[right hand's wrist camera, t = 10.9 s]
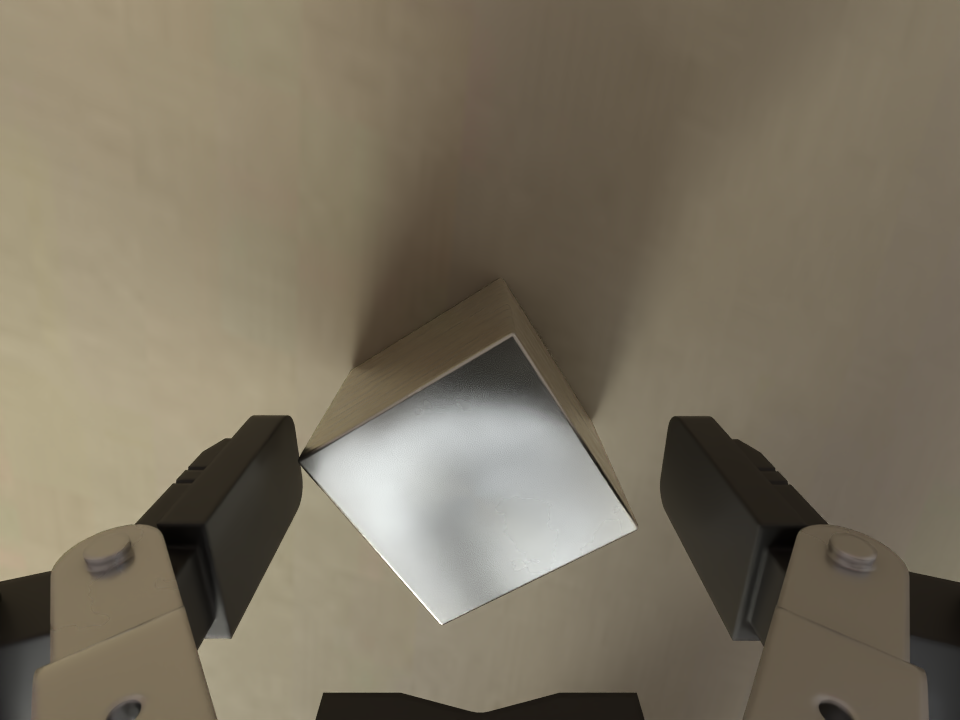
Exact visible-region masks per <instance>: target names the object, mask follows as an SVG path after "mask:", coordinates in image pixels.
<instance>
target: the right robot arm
mask: <svg viewBox="0 0 960 720" xmlns="http://www.w3.org/2000/svg"><path fill="white" fill-rule="evenodd" d="M298 459H299V452H298V445H297V439H296V432H295V426H294V422H293V419H292V418H291V417H290V416H288V415H254V416H251V417H250V418H249V419H248V420H247V421H246V422H245V424H244V425H243V426H242V427H241V428H240V429H239V430H238V432H237V433H236V434H235V435H234V436H233V437H232V438H225V439H224V440H222V441H220V442H218V443H217V444H215V445H213V446H212V447H210V448H208V449H207V450H205V451H203V452H202V453H201V454H200V455H199V456H198V457H197V459H196V460H195V461H194V462H193V463H192V464H191V465H190V466H189V467H188V468H189V469H188V470H185V471H184V472H183V473H182V475H181V476H180V477H179V478H178V479H177V480H176V483H173V484H172V485H171V486H170V487H169V488H168V489H167V491H166V492H165V493H164V494H163V495H162V496H161V497H160V498H159V499H158V500H157V501H156V502H155V503H154V504H153V505H152V507H151V508H150V509H149V510H148V511H147V512H146V513H145V514H144V515H143V516H142V517H141V518H140V519H139V520H138V521H137V523H136V524H135V525H125V526H120V527H116V528H112V529H109V530H106V531H103V532H100V533H98V534H95V535H93V536H91V537H89V538H87V539H85V540H83V541H81V542H80V543H78V544H77V545H75V546H74V547H72V548H71V549H70V550H68V551H67V552H66V553H65V554H64V555H63V556H62V557H61V558H60V559H59V560H58V561H57V562H56V564H55V565H54V567H53V569H52V571H49V572H44V573H39V574H34V575H30V576H25V577H20V578H15V579H11V580H6V581H1V582H0V720H217V717H216V713H215V710H214V707H213V703H212V700H211V696H210V693H209V689H208V686H207V683H206V679H205V676H204V672H203V669H202V665H201V662H200V659H199V655H198V652H197V650H198V648H199V647H200V645H201V643H202V641H203V640H204V639H231V638H232V636H233V634H234V632H235V630H236V628H237V626H238V624H239V623H240V621H241V619H242V617H243V615H244V613H245V611H246V609H247V607H248V605H249V603H250V601H251V599H252V597H253V595H254V593H255V591H256V590H257V588H258V586H259V584H260V582H261V580H262V578H263V576H264V574H265V572H266V570H267V568H268V566H269V564H270V562H271V560H272V559H273V557H274V555H275V553H276V551H277V549H278V547H279V545H280V543H281V541H282V539H283V537H284V535H285V533H286V531H287V529H288V527H289V526H290V524H291V522H292V520H293V518H294V516H295V514H296V512H297V510H298V508H299V505H300V502H301V497H302V488H303V482H302V473H301V466H300V464H299V463H298ZM660 493H661V499H662V504H663V507H664V509H665V511H666V513H667V515H668V517H669V519H670V521H671V523H672V525H673V527H674V529H675V531H676V533H677V534H678V536H679V538H680V540H681V542H682V544H683V546H684V548H685V550H686V552H687V554H688V556H689V557H690V559H691V561H692V563H693V565H694V567H695V569H696V571H697V573H698V575H699V577H700V579H701V580H702V582H703V584H704V586H705V588H706V590H707V592H708V594H709V596H710V598H711V600H712V602H713V603H714V605H715V607H716V609H717V611H718V613H719V615H720V617H721V619H722V621H723V623H724V625H725V626H726V628H727V630H728V632H729V634H730V636H731V638H732V640H733V641H761V643H762V644H763V646H764V648H763V652H762V655H761V659H760V662H759V665H758V669H757V672H756V676H755V679H754V683H753V686H752V689H751V693H750V696H749V700H748V703H747V707H746V710H745V713H744V717H743V720H960V582H955V581H950V580H946V579H941V578H936V577H931V576H927V575H922V574H917V573H912V572H909V571H908V569H907V567H906V565H905V564H904V562H903V561H902V560H901V559H900V558H899V557H898V556H897V555H896V554H895V553H894V552H893V551H892V550H890V549H889V548H888V547H886V546H885V545H883V544H882V543H880V542H879V541H877V540H875V539H873V538H871V537H869V536H867V535H865V534H862V533H860V532H857V531H854V530H851V529H848V528H844V527H840V526H835V525H828V523H827V522H826V521H825V520H824V519H823V518H822V517H821V516H820V515H819V514H818V513H817V512H816V511H815V510H814V509H813V508H812V507H811V505H810V504H809V503H808V502H807V501H806V500H805V499H804V498H803V497H802V496H801V495H800V494H799V493H798V492H797V491H796V490H795V489H794V488H793V486H792V485H788V481H787V480H786V479H785V478H784V477H783V476H782V475H781V474H780V473H779V472H778V471H775V467H774V466H773V465H772V464H771V463H770V462H769V461H768V460H767V459H766V458H765V457H764V456H763V455H762V454H761V453H760V452H759V451H757V450H755V449H753V448H752V447H750V446H748V445H747V444H745V443H743V442H742V441H740V440H738V439H731V438H730V437H729V435H728V434H727V433H726V432H725V431H724V430H723V429H722V428H721V426H720V425H719V424H718V423H717V422H716V421H715V420H714V419H713V418H712V417H710V416H674V417H672V419H671V420H670V422H669V426H668V431H667V438H666V445H665V452H664V458H663V465H662V472H661V479H660ZM316 720H644V716H643V713H642V710H641V706H640V703H639V699H638V696H637V693H557V694H553V695H549V696H546V697H542V698H538V699H534V700H531V701H527V702H523V703H519V704H516V705H512V706H508V707H504V708H501V709H497V710H493V711H489V712H484V713H476V712H471V711H467V710H463V709H459V708H456V707H452V706H448V705H444V704H441V703H437V702H433V701H429V700H426V699H422V698H418V697H414V696H411V695H407V694H403V693H323V696H322V699H321V703H320V706H319V710H318V713H317V716H316Z"/></svg>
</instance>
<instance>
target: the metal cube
mask: <svg viewBox="0 0 960 720" xmlns="http://www.w3.org/2000/svg"><path fill="white" fill-rule="evenodd" d="M298 463H299V464H300V465H301V466H302V468H303V469H304V470H305V471H306V472H307V473H308V474H309V476H310V477H311V478H312V479H313V480H314V481H315V482H316V484H317V485H318V486H319V487H320V488H321V489H322V490H323V492H324V493H325V494H326V495H327V496H328V497H329V498H330V500H331V501H332V502H333V503H334V504H335V505H336V506H337V507H338V509H339V510H340V511H341V512H342V513H343V514H344V515H345V517H346V518H347V519H348V520H349V521H350V522H351V523H352V525H353V526H354V527H355V528H356V529H357V530H358V531H359V533H360V534H361V535H362V536H363V537H364V538H365V539H366V541H367V542H368V543H369V544H370V545H371V546H372V547H373V549H374V550H375V551H376V552H377V553H378V554H379V555H380V557H381V558H382V559H383V560H384V561H385V562H386V563H387V565H388V566H389V567H390V568H391V569H392V570H393V571H394V572H395V574H396V575H397V576H398V577H399V578H400V579H401V580H402V582H403V583H404V584H405V585H406V586H407V587H408V588H409V590H410V591H411V592H412V593H413V594H414V595H415V596H416V598H417V599H418V600H419V601H420V602H421V603H422V604H423V606H424V607H425V608H426V609H427V610H428V611H429V612H430V614H431V615H432V616H433V617H434V618H435V619H436V620H437V622H438V623H439V624H441V625H444V624H446V623H448V622H450V621H452V620H454V619H456V618H458V617H460V616H462V615H464V614H466V613H468V612H470V611H472V610H475V609H477V608H479V607H481V606H483V605H485V604H487V603H489V602H491V601H493V600H495V599H497V598H499V597H501V596H503V595H505V594H507V593H509V592H511V591H513V590H516V589H518V588H520V587H522V586H524V585H526V584H528V583H530V582H532V581H534V580H536V579H538V578H540V577H542V576H544V575H546V574H548V573H550V572H552V571H554V570H557V569H559V568H561V567H563V566H565V565H567V564H569V563H571V562H573V561H575V560H577V559H579V558H581V557H583V556H585V555H587V554H589V553H591V552H593V551H595V550H598V549H600V548H602V547H604V546H606V545H608V544H610V543H612V542H614V541H616V540H618V539H620V538H622V537H624V536H626V535H628V534H630V533H632V532H634V531H636V530H637V529H638V524H637V522H636V519H635V517H634V515H633V513H632V510H631V508H630V506H629V504H628V501H627V499H626V497H625V495H624V492H623V490H622V488H621V486H620V483H619V481H618V479H617V477H616V474H615V472H614V470H613V468H612V465H611V463H610V461H609V459H608V456H607V454H606V452H605V450H604V447H603V445H602V443H601V441H600V438H599V436H598V434H597V432H596V429H595V427H594V425H593V423H592V421H591V419H590V418H589V416H588V415H587V413H586V411H585V410H584V408H583V407H582V405H581V403H580V402H579V400H578V398H577V397H576V395H575V394H574V392H573V390H572V389H571V387H570V386H569V384H568V382H567V381H566V379H565V378H564V376H563V374H562V373H561V371H560V369H559V368H558V366H557V365H556V363H555V361H554V360H553V358H552V357H551V355H550V353H549V352H548V350H547V349H546V347H545V345H544V344H543V342H542V340H541V339H540V337H539V336H538V334H537V332H536V331H535V329H534V328H533V326H532V324H531V323H530V321H529V320H528V318H527V316H526V315H525V313H524V311H523V310H522V308H521V307H520V305H519V303H518V302H517V300H516V299H515V297H514V295H513V294H512V292H511V291H510V289H509V287H508V286H507V284H506V282H505V281H504V279H502V278H499V279H498V280H496V281H494V282H493V283H491V284H490V285H488V286H486V287H485V288H483V289H481V290H480V291H478V292H477V293H475V294H473V295H472V296H470V297H469V298H467V299H465V300H464V301H462V302H460V303H459V304H457V305H456V306H454V307H452V308H451V309H449V310H448V311H446V312H444V313H443V314H441V315H439V316H438V317H436V318H435V319H433V320H431V321H430V322H428V323H427V324H425V325H423V326H422V327H420V328H419V329H417V330H415V331H414V332H412V333H410V334H409V335H407V336H406V337H404V338H402V339H401V340H399V341H398V342H396V343H394V344H393V345H391V346H389V347H388V348H386V349H385V350H383V351H381V352H380V353H378V354H377V355H375V356H373V357H372V358H370V359H368V360H367V361H365V362H364V363H362V364H360V365H359V366H357V367H356V368H354V369H352V370H351V371H350V373H349V374H348V376H347V378H346V379H345V381H344V383H343V384H342V386H341V388H340V389H339V391H338V393H337V394H336V396H335V398H334V400H333V401H332V403H331V405H330V406H329V408H328V410H327V411H326V413H325V415H324V416H323V418H322V420H321V421H320V423H319V425H318V427H317V428H316V430H315V432H314V433H313V435H312V437H311V438H310V440H309V442H308V443H307V445H306V447H305V448H304V450H303V452H302V453H301V455H300V457H299V459H298Z"/></svg>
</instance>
